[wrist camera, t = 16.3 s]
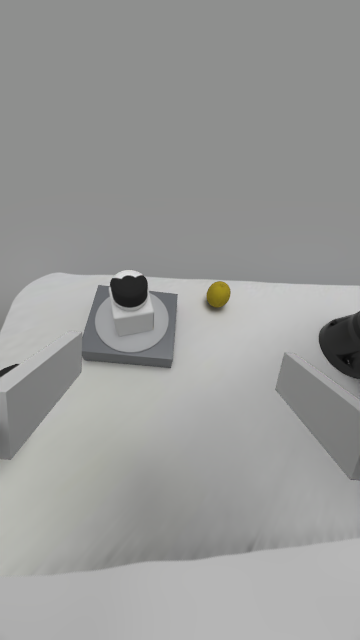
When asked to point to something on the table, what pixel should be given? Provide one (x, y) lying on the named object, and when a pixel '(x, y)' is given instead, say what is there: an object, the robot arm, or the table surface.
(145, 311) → the medicine bottle
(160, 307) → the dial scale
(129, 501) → the table surface
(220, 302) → the lemon
